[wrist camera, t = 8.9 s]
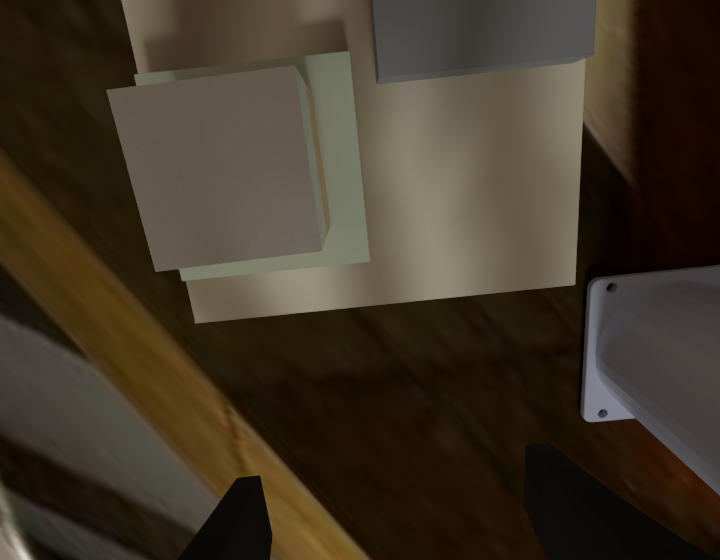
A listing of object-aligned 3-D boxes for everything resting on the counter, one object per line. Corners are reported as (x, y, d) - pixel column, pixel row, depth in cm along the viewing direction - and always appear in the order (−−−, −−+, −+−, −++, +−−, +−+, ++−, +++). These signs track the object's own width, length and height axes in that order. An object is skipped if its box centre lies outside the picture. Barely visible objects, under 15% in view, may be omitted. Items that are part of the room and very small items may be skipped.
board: (582, -185, 15) (597, -207, 15) (564, 278, 21) (575, 284, 20) (104, -129, 16) (87, -148, 15) (202, 315, 21) (195, 323, 20)
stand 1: (349, 60, 17) (349, 51, 15) (368, 253, 19) (369, 261, 18) (152, 81, 17) (133, 74, 15) (194, 271, 19) (181, 281, 18)
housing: (312, 93, 16) (294, 65, 11) (330, 225, 17) (322, 251, 12) (181, 110, 16) (106, 90, 11) (210, 239, 17) (155, 271, 12)
